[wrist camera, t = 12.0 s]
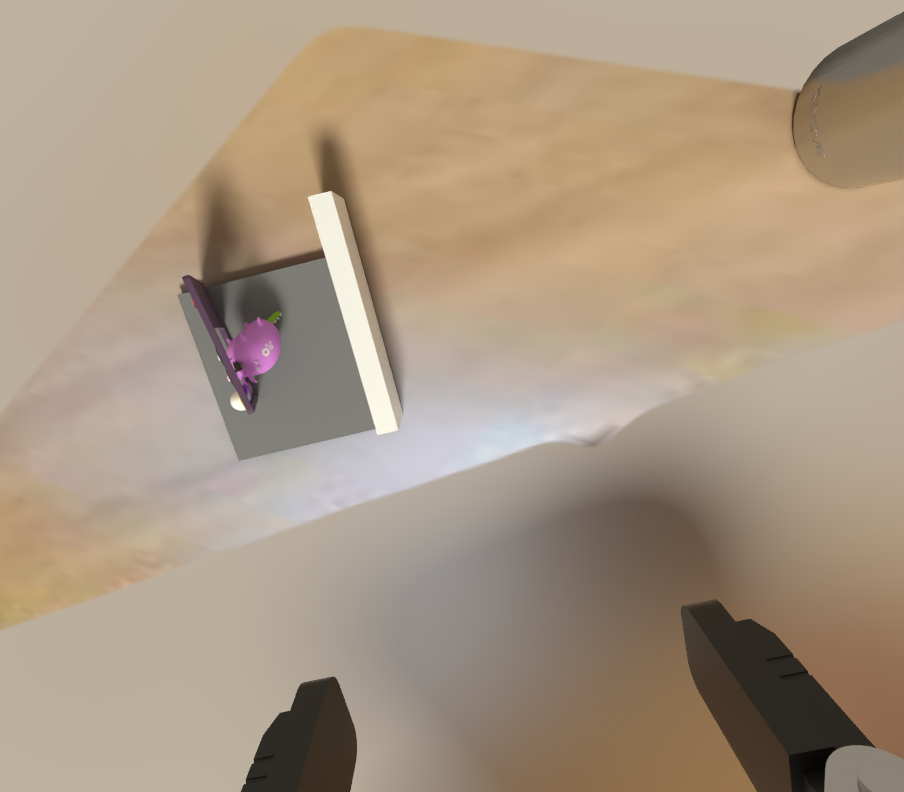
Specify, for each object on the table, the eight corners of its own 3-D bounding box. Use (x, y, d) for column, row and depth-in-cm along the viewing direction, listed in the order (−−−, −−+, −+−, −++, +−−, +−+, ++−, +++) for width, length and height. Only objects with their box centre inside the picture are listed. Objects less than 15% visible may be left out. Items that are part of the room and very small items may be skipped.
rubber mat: (327, 257, 36) (325, 257, 36) (376, 426, 39) (375, 428, 39) (181, 294, 37) (177, 294, 36) (241, 457, 40) (238, 460, 39)
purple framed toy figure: (168, 280, 29) (236, 420, 32) (256, 251, 31) (316, 387, 33) (187, 289, 36) (243, 404, 38) (259, 264, 37) (310, 377, 39)
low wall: (343, 198, 35) (331, 191, 31) (403, 413, 39) (398, 430, 35) (323, 204, 35) (307, 196, 31) (384, 418, 39) (377, 435, 35)
